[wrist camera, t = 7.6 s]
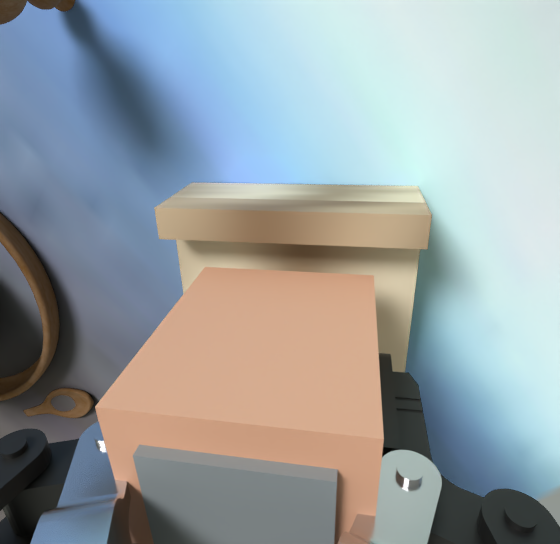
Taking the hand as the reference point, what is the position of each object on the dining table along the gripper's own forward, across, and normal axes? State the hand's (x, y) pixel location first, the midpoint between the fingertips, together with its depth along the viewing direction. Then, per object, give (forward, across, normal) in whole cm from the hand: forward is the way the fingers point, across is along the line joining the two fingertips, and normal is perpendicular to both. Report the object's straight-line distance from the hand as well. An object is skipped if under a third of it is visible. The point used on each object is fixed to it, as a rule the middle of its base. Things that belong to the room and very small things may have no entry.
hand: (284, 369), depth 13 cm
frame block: (+1, 0, 0) cm, 1 cm away
